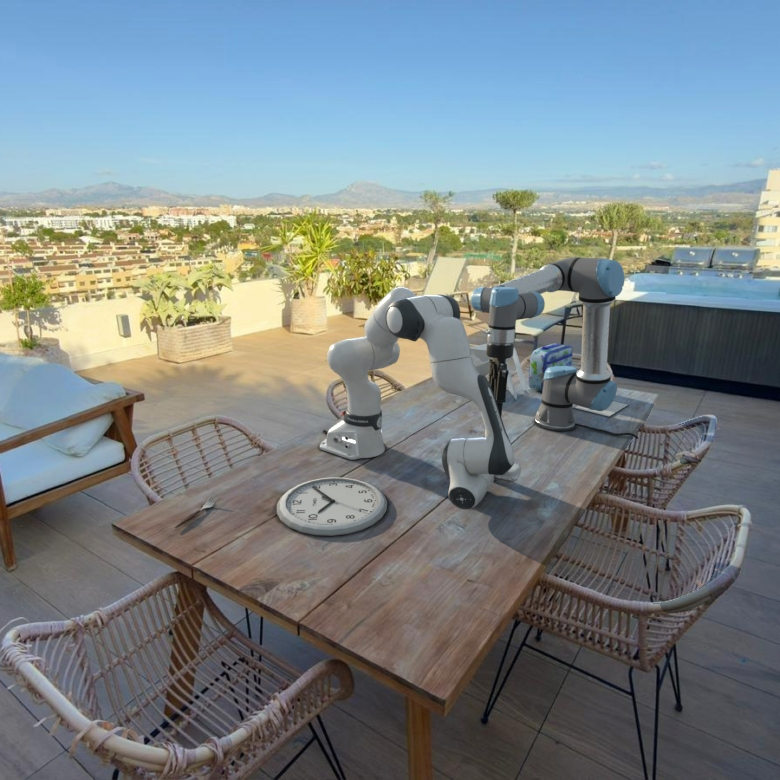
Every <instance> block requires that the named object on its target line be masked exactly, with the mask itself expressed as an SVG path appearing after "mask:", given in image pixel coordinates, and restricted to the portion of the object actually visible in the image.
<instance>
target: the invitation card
mask: <svg viewBox="0 0 780 780" xmlns="http://www.w3.org/2000/svg"><path fill="white" fill-rule="evenodd" d="M628 406H629V404H627V403H623V402H618V401H614V400H613V402H612V403H611V405H610V406H609V407H608V408H607V409H606V410H604V411H597V410H591V409H588V408H585V407H582V406H578V405H575V406H574V407H573V409H575V410H581V411H584V412H587V413H593V414H596V415H600V416H604V417H608V418H609V417H611V416H613V415H614V414H616V413H617V412H619V411H621V410H623V409H624V408H626V407H628Z"/></svg>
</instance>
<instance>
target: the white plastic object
mask: <svg viewBox="0 0 780 780" xmlns="http://www.w3.org/2000/svg"><path fill="white" fill-rule="evenodd" d="M470 349H471V355H472V361H473V364H474V366H475V368H476V369H477V371H478V372H479V373H480V374H481V375H483V376H485V377H486V376H487V375H489V360H490V359H492V358H491V357H489V356H487V354H486V351H487V343H483V344H479V345H473V346H470ZM510 360H513V363H514V366H515V369H516V372H517V376H518V380H519V382H520V385H521V389H522V391H523V393H524V395H525V396H526V397H528V396H531V395H530V390H529V386H528V384H527V381H526V378H525V375H524V371H523V369H522V368H523V367H522V366H521V362H520V359H519V355H518V352H517V349H516V347H514V350H513V356H512V357H511V358H507V359H506V364H507V370H508V371H509V373H508V377H507V386H508V390H509V393H510V394H511V395H512V397H513V398H514V399H515V400H517V392H516V391H517V390H516V388H515V385H514V381H513V378H512V375H511V371H510V369H509V365H508V361H510Z"/></svg>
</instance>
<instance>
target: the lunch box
mask: <svg viewBox="0 0 780 780" xmlns="http://www.w3.org/2000/svg"><path fill="white" fill-rule="evenodd" d="M573 356H574V355H573V347H572V346H571V345H566V344H560V343H551V344H548V345H544V346H541V347H538V348H536V349H534V350H533V351H532V353H531V355H530V359H529V370H528V371H529V372H528V389H531V390H536V391H541V392H542V391H543V381H544V380H543V378H544V374H545V371H546V369H547V368H550V367H554V366H572V365H573V363H572V362H573Z"/></svg>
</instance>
